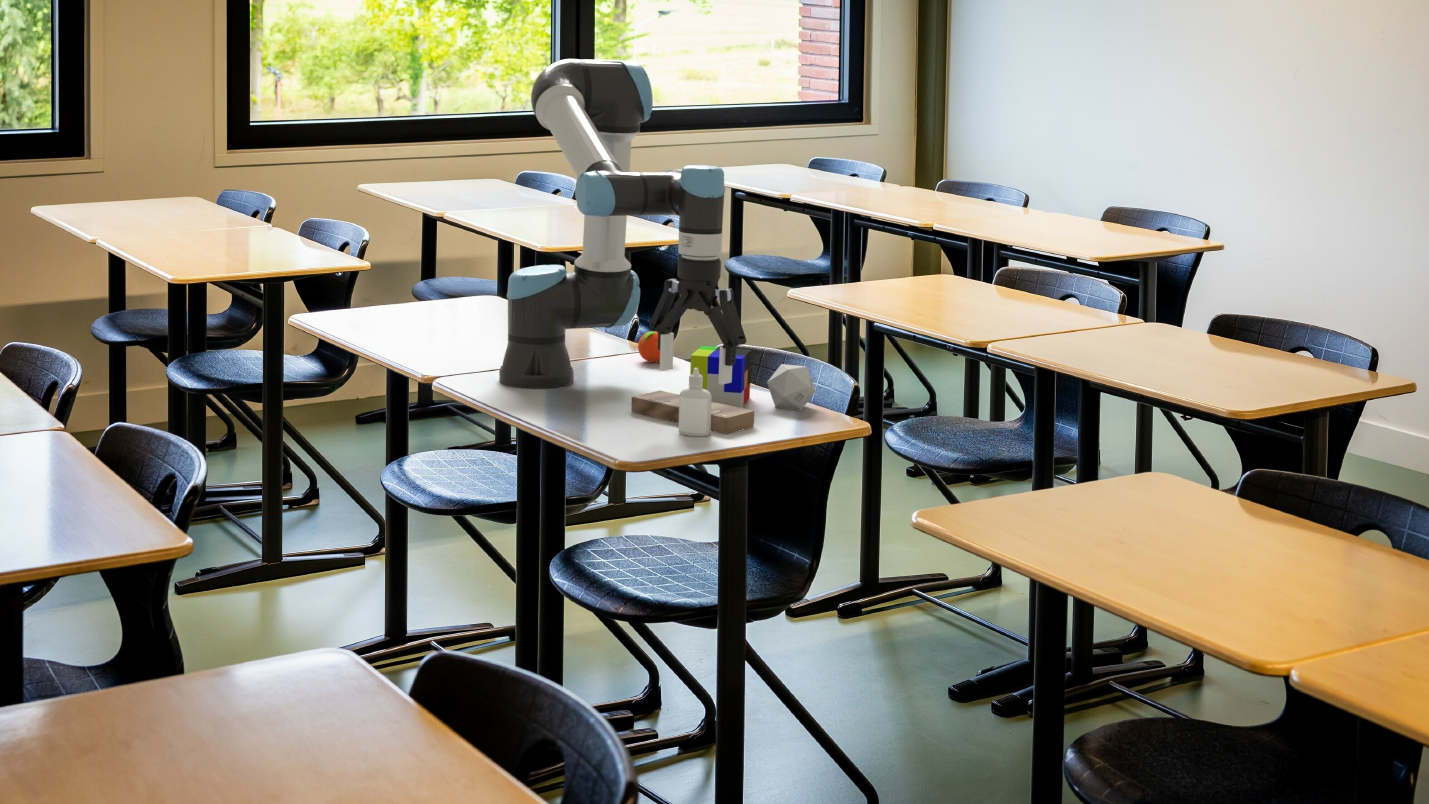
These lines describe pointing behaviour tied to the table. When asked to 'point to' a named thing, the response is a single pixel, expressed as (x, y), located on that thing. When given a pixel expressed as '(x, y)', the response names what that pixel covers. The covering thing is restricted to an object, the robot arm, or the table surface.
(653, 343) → the clementine
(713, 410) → the walnut block
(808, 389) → the die
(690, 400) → the eye dropper bottle
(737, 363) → the puzzle toy
